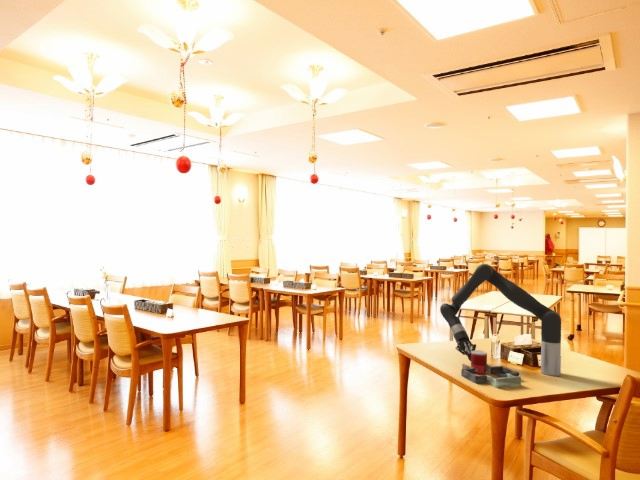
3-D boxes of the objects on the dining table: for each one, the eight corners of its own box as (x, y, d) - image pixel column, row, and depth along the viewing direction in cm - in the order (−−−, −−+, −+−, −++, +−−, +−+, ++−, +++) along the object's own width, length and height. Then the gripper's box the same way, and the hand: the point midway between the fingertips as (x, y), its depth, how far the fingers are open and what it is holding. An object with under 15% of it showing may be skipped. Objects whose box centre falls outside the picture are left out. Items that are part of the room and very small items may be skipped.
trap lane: (452, 371, 228) (452, 363, 228) (492, 368, 235) (492, 359, 235) (487, 389, 201) (487, 380, 201) (530, 385, 208) (530, 375, 208)
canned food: (487, 375, 222) (488, 354, 222) (472, 374, 224) (472, 353, 224) (485, 371, 230) (485, 350, 230) (469, 369, 231) (470, 349, 231)
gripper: (452, 330, 240) (465, 358, 228) (472, 329, 243) (486, 356, 231) (446, 337, 245) (459, 365, 233) (466, 336, 248) (479, 363, 237)
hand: (472, 360), depth 232 cm, fingers closed
